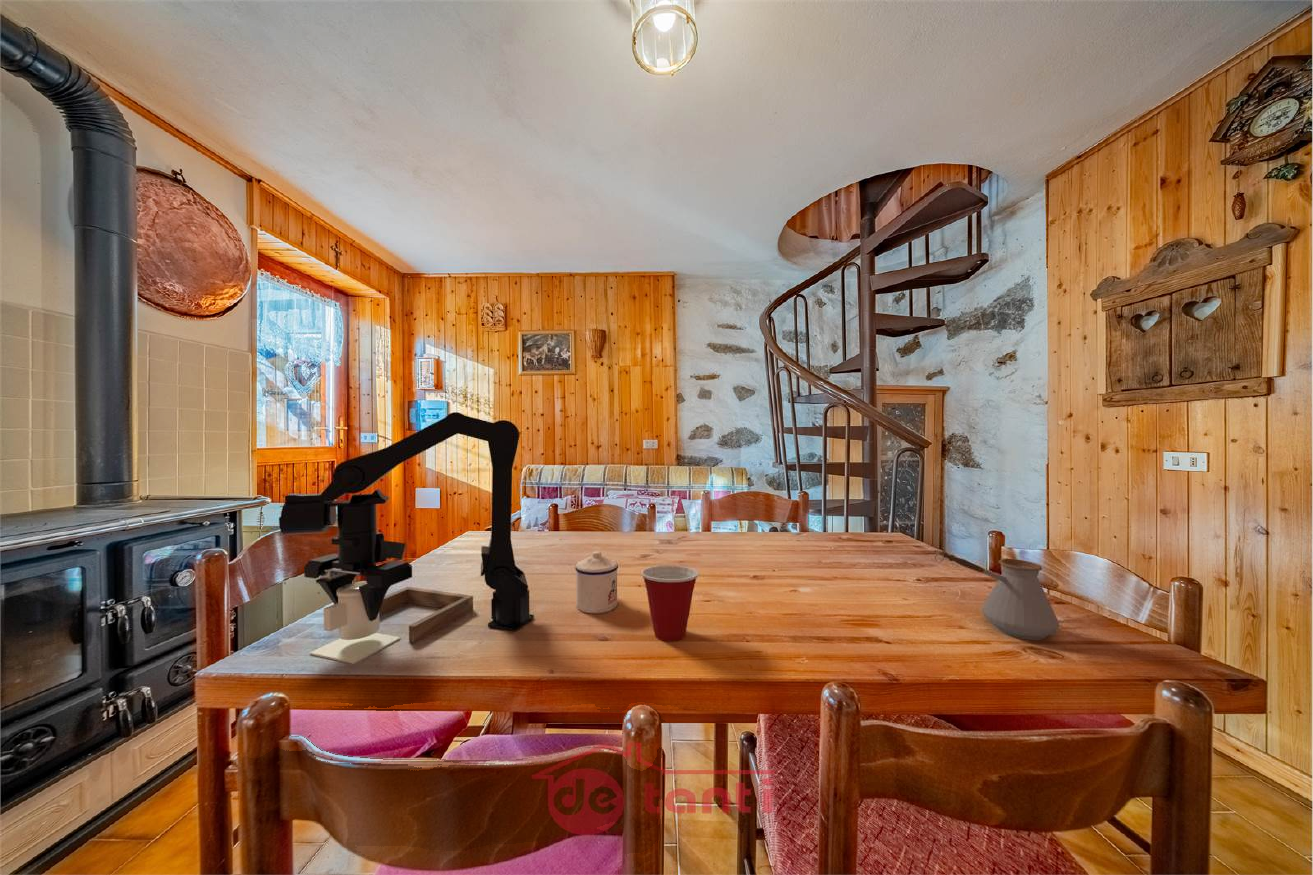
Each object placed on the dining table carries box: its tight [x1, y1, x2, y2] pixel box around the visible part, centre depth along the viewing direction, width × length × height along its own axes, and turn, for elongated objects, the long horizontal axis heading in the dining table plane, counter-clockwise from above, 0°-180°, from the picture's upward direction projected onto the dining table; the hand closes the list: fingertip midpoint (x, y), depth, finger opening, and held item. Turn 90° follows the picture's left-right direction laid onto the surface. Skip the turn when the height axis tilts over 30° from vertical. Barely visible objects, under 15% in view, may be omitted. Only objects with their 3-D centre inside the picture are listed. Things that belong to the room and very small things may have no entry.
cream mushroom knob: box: [323, 580, 381, 640], centre depth 79 cm, size 9×6×8 cm
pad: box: [309, 632, 402, 665], centre depth 79 cm, size 10×9×1 cm
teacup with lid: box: [575, 550, 619, 614], centre depth 99 cm, size 12×9×12 cm
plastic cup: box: [640, 565, 700, 642], centre depth 84 cm, size 11×11×12 cm
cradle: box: [379, 586, 474, 644], centre depth 90 cm, size 17×15×3 cm
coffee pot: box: [934, 551, 1060, 641], centre depth 86 cm, size 21×12×15 cm, turn 89°
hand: (359, 617), depth 80 cm, fingers closed on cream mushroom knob, 6 cm apart
